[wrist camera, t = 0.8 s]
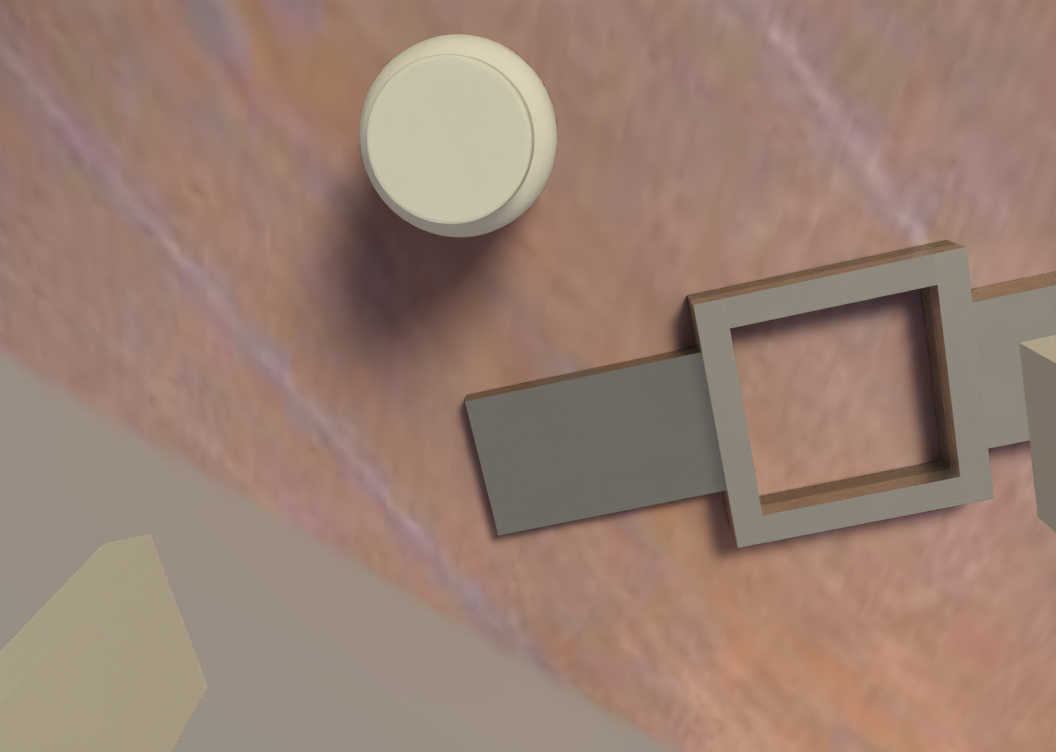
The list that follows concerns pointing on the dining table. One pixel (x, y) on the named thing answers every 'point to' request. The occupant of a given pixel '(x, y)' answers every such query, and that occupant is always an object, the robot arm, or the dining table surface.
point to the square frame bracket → (719, 419)
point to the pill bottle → (458, 135)
